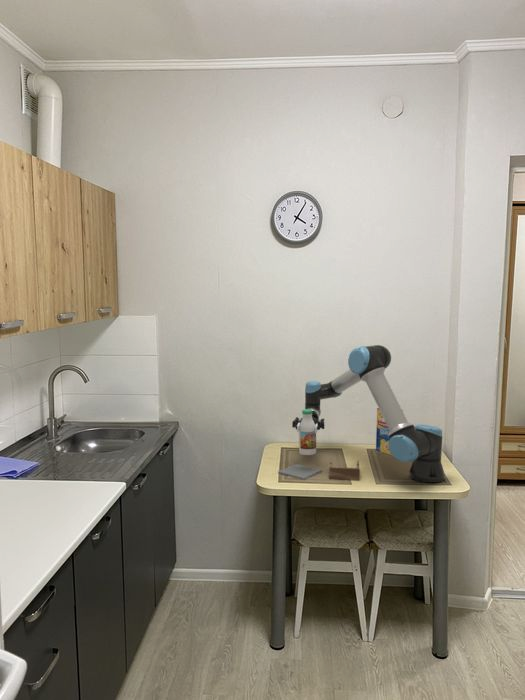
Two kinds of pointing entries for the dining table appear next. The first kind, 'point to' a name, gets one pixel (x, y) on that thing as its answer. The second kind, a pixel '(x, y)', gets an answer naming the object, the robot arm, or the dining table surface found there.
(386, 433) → the beverage box
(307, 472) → the grey tile
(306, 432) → the milk bottle
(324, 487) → the dining table surface
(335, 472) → the wooden frame
